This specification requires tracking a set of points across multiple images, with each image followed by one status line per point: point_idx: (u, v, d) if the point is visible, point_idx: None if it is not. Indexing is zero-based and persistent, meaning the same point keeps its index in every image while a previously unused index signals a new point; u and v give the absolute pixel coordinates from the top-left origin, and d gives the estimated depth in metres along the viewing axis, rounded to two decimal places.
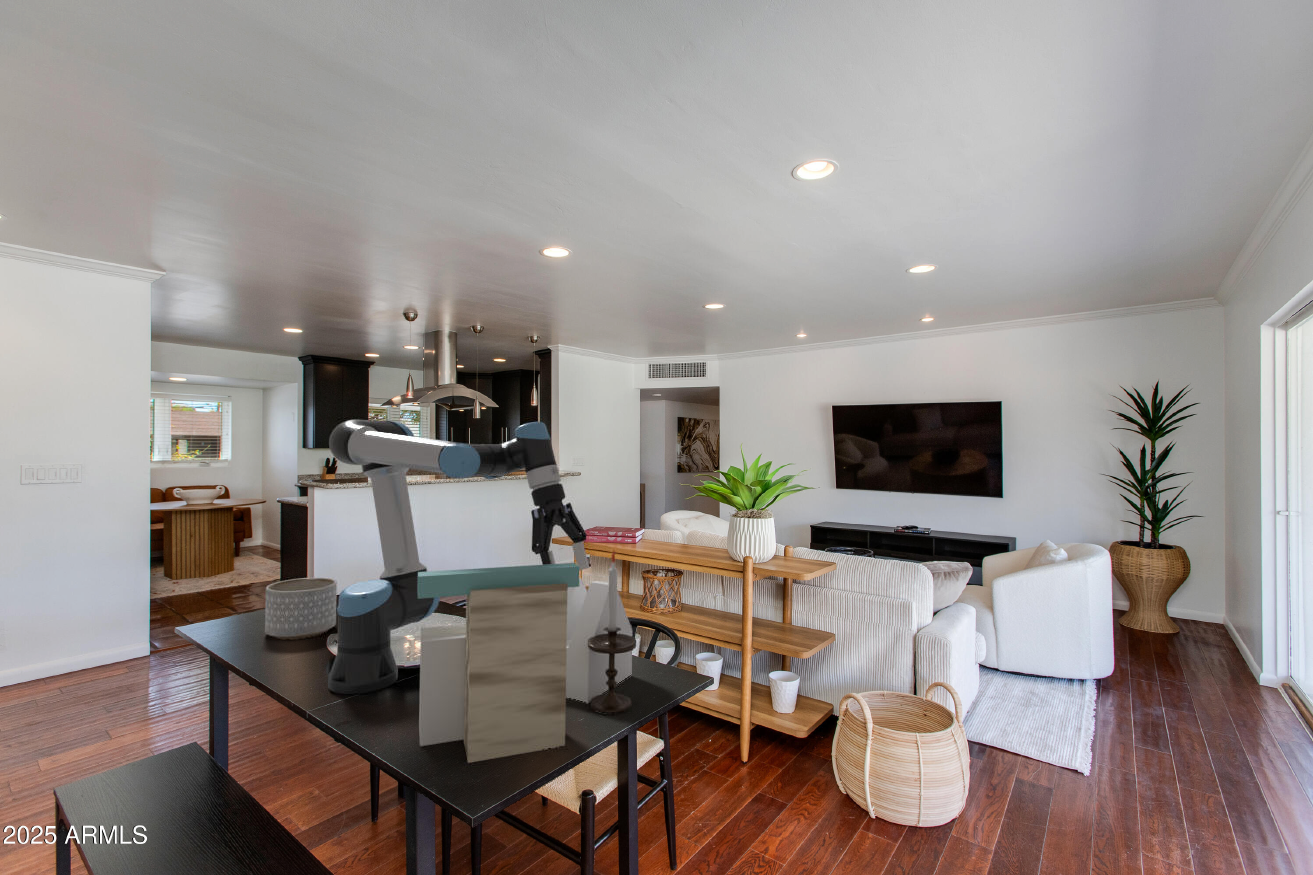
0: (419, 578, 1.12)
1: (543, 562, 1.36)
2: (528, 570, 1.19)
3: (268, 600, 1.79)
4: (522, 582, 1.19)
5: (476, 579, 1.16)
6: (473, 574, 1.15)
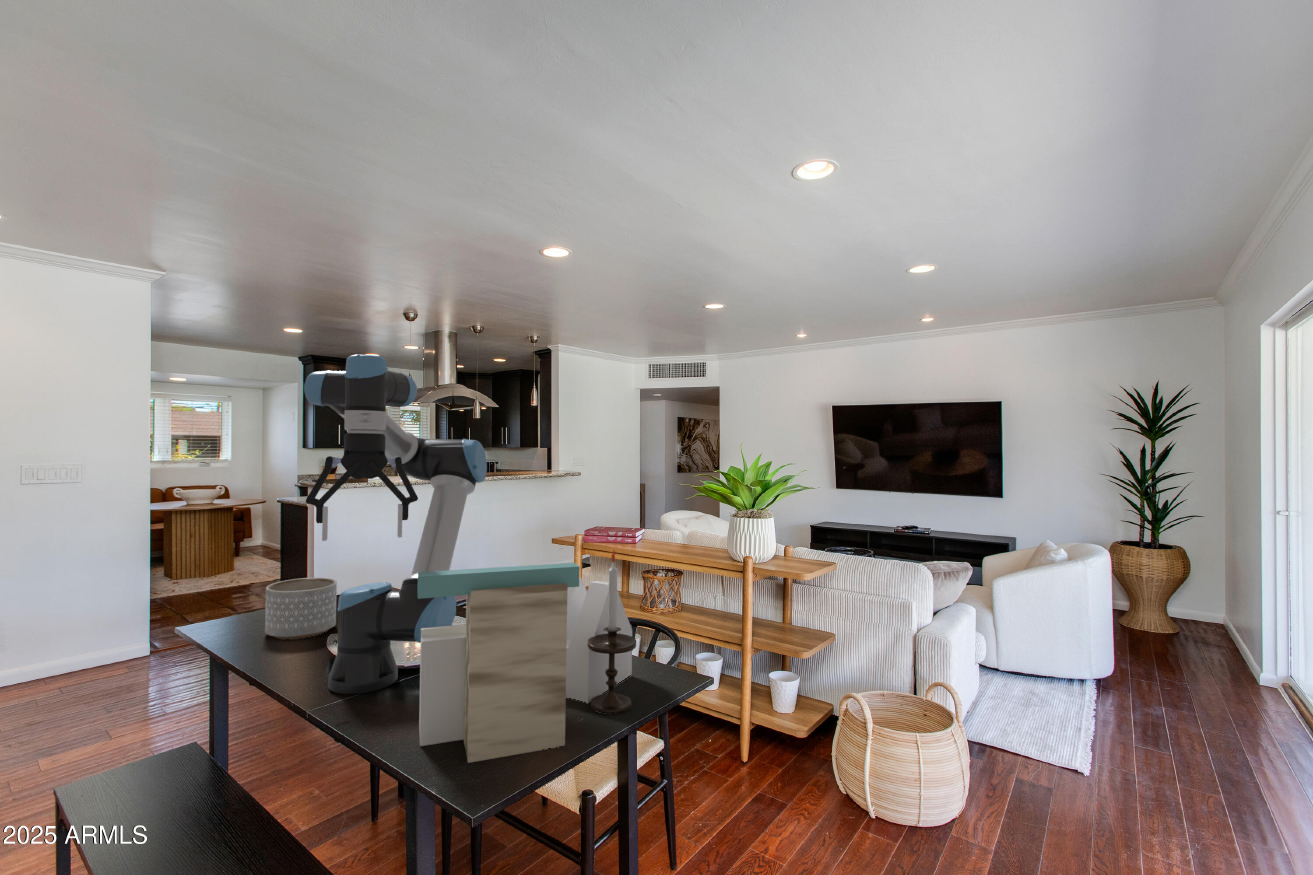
0: (419, 578, 1.12)
1: None
2: (528, 570, 1.19)
3: (268, 600, 1.79)
4: (522, 582, 1.19)
5: (476, 579, 1.16)
6: (473, 574, 1.15)
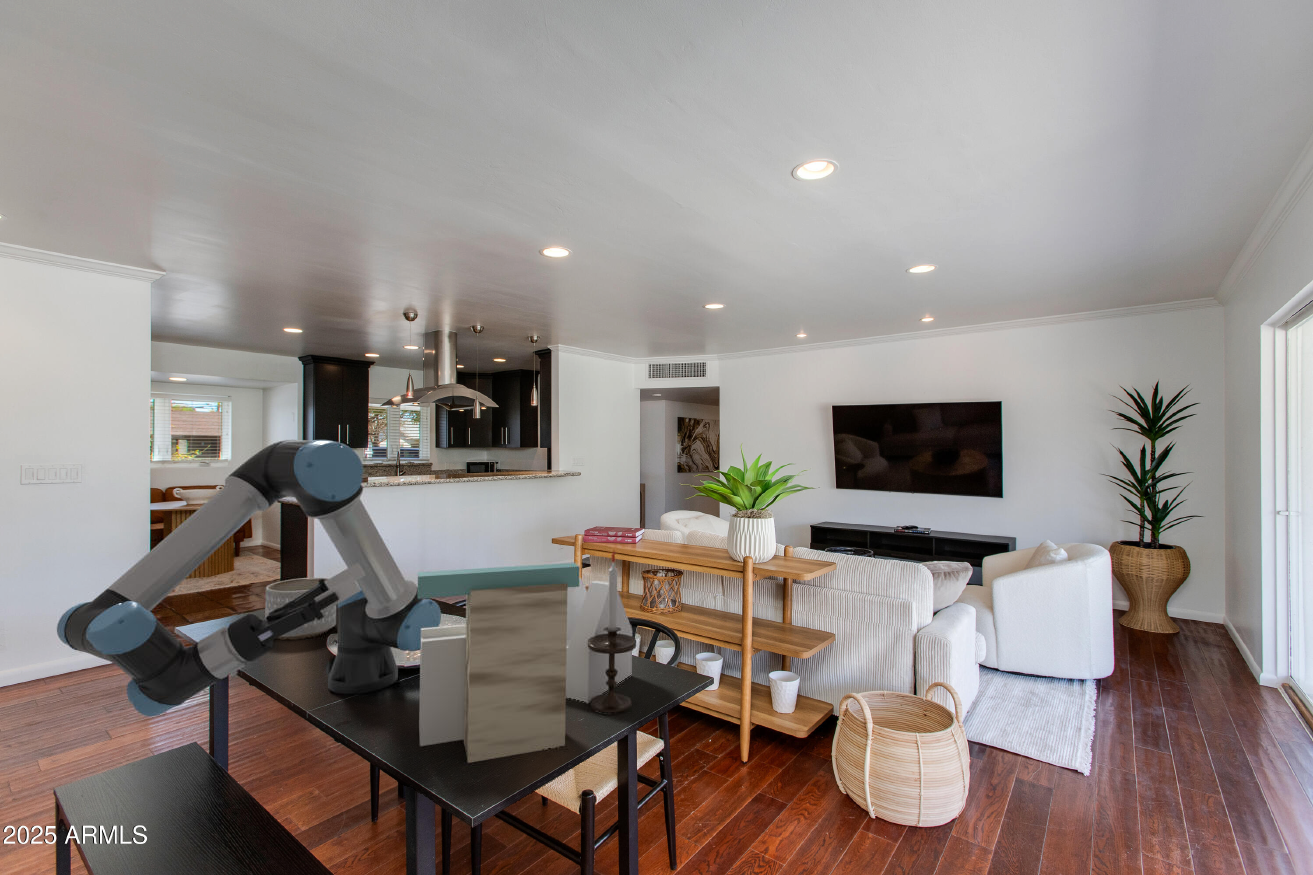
0: (419, 578, 1.12)
1: None
2: (528, 570, 1.19)
3: (268, 600, 1.79)
4: (522, 582, 1.19)
5: (476, 579, 1.16)
6: (473, 574, 1.15)
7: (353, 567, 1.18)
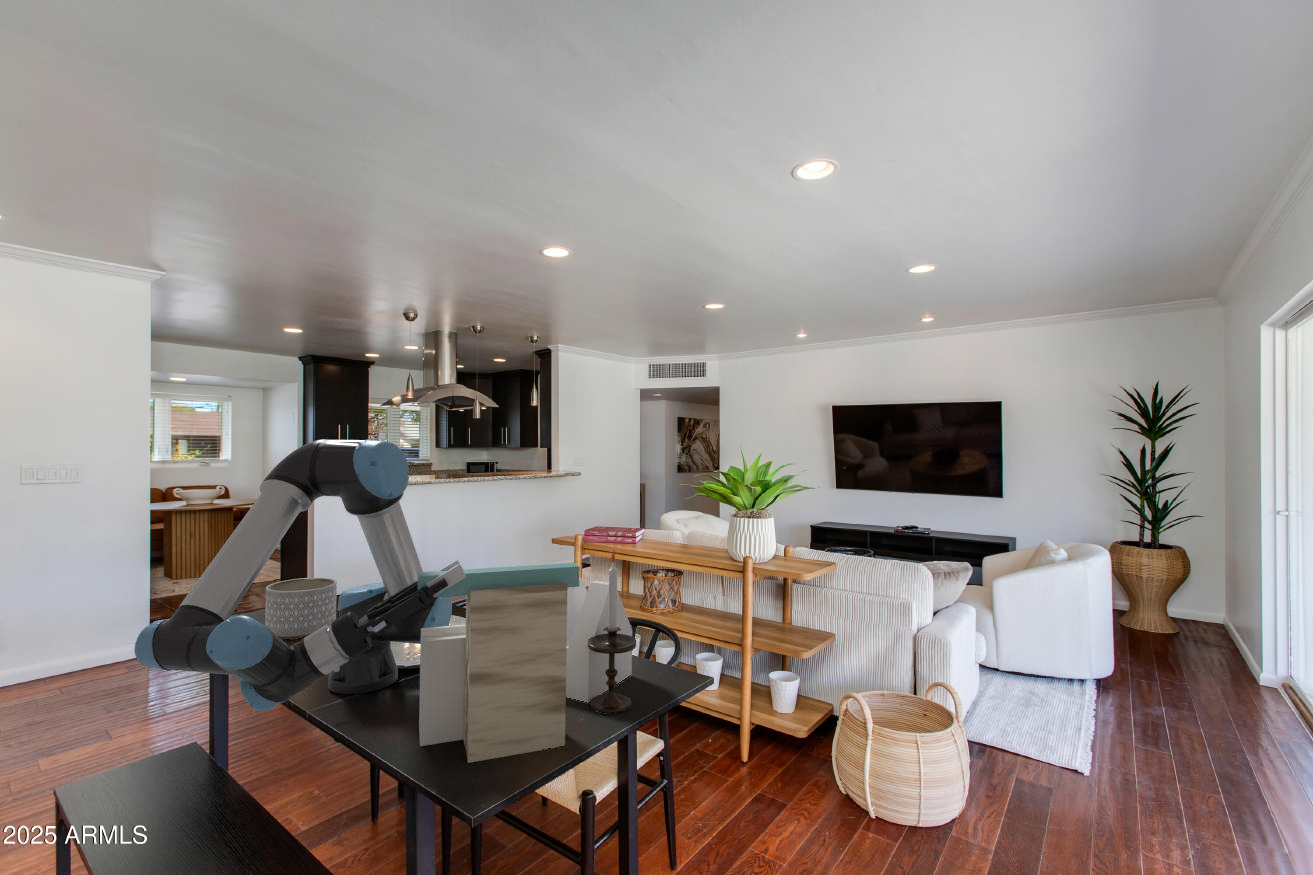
0: (419, 578, 1.12)
1: None
2: (528, 570, 1.19)
3: (268, 600, 1.79)
4: (522, 582, 1.19)
5: (476, 579, 1.16)
6: (473, 574, 1.15)
7: (453, 564, 1.18)
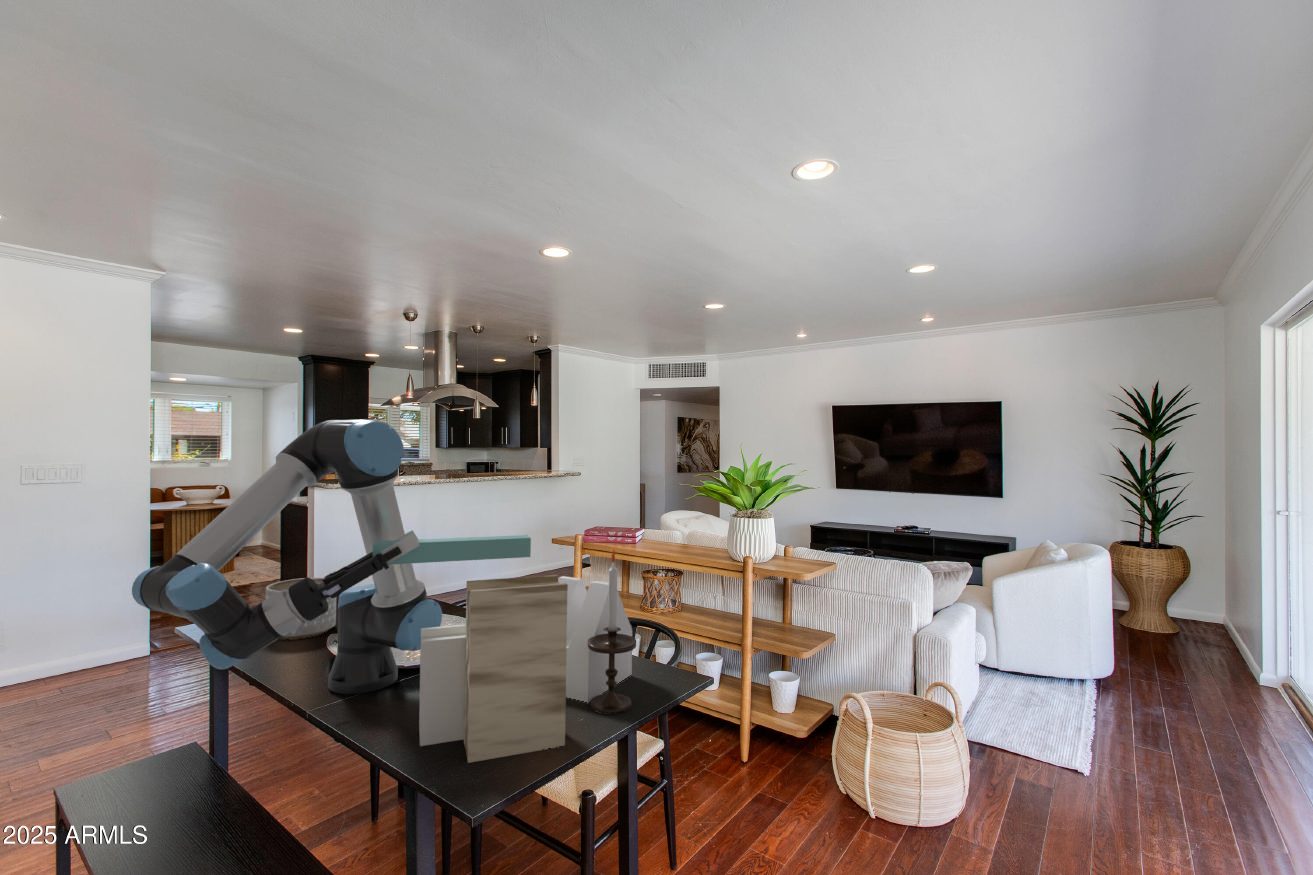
0: (374, 546, 1.18)
1: None
2: (480, 540, 1.25)
3: None
4: (474, 552, 1.25)
5: (429, 548, 1.21)
6: (426, 543, 1.21)
7: (408, 534, 1.24)
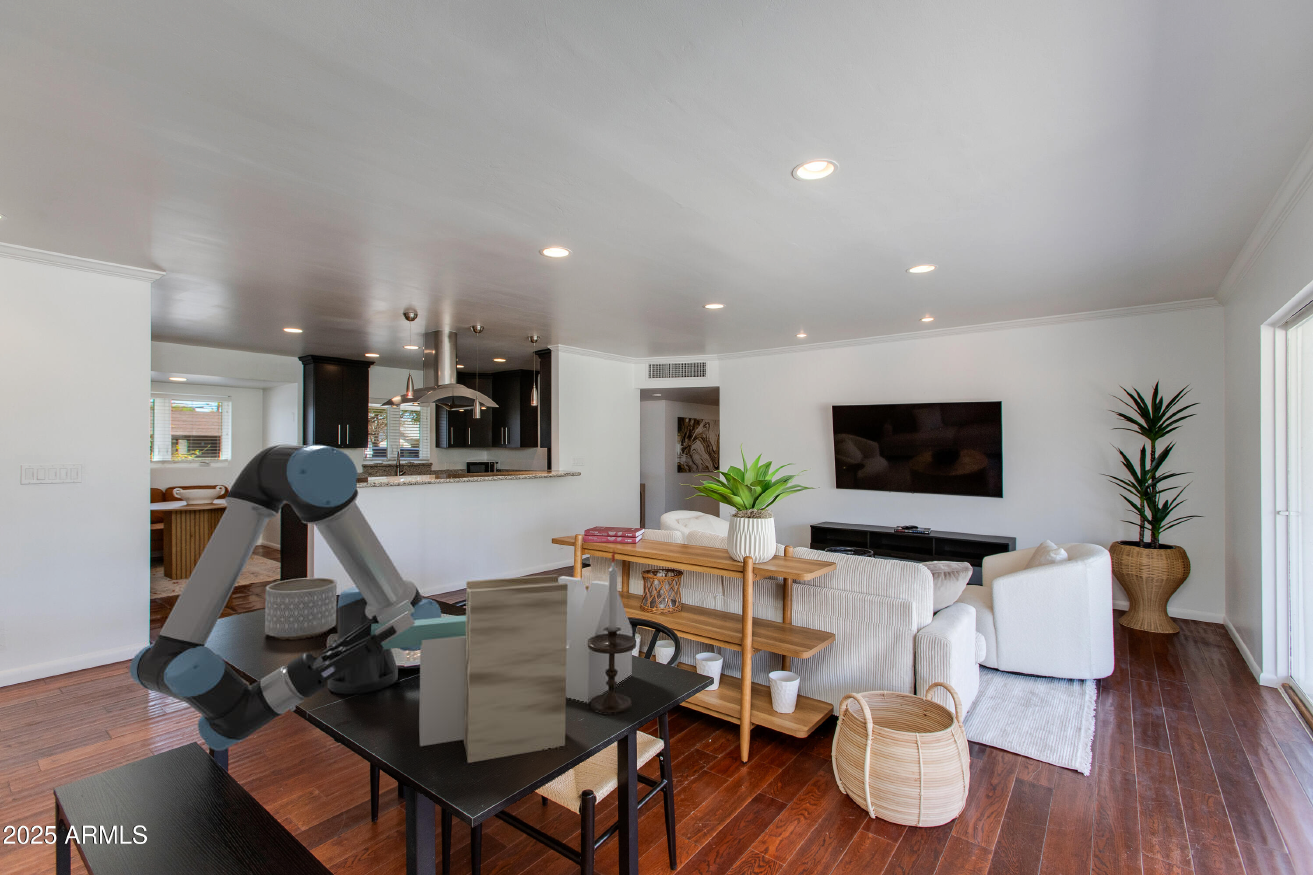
0: (372, 631, 1.18)
1: None
2: None
3: (269, 600, 1.79)
4: None
5: (427, 631, 1.21)
6: (425, 625, 1.21)
7: (403, 604, 1.25)
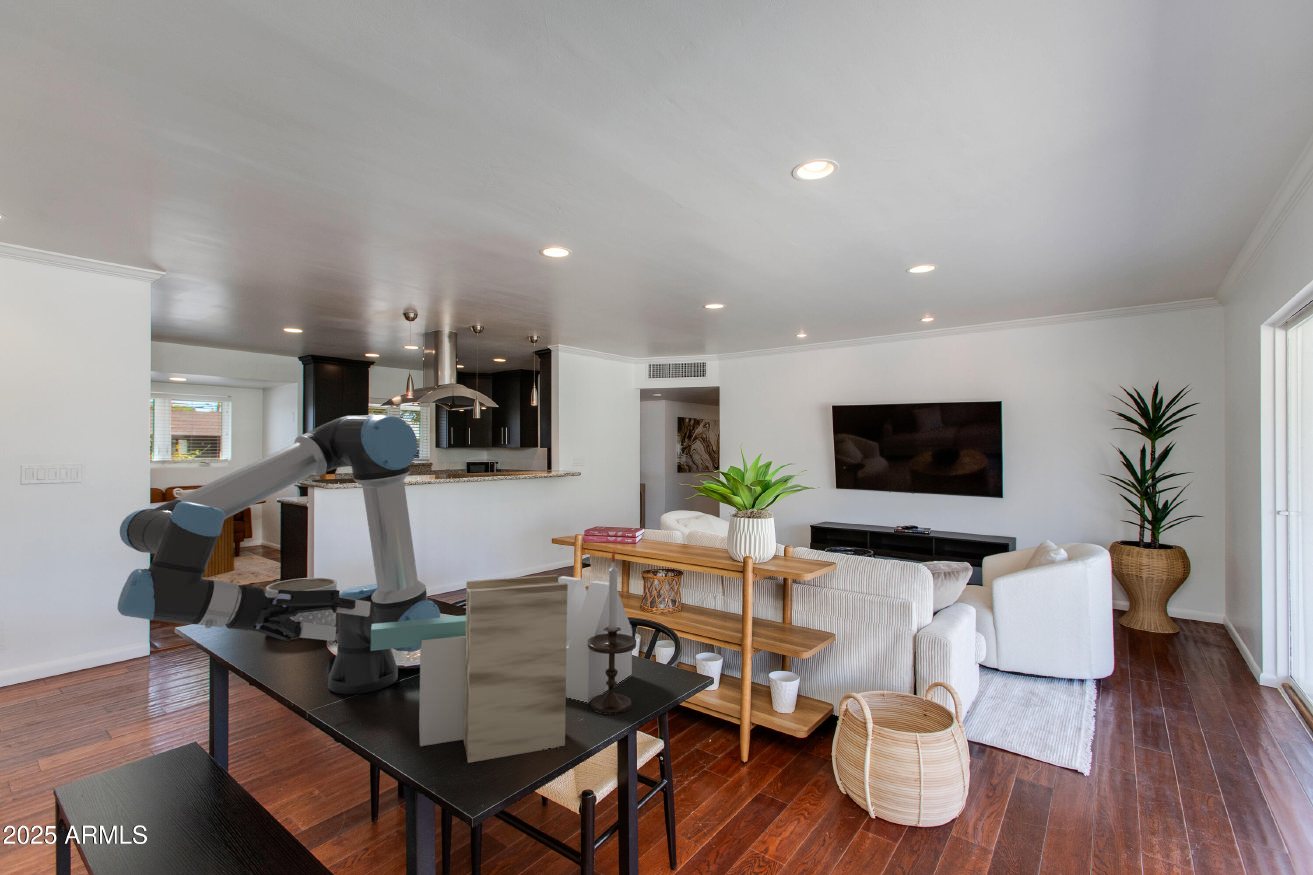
0: (372, 631, 1.18)
1: None
2: None
3: None
4: None
5: (427, 631, 1.21)
6: (425, 625, 1.21)
7: (331, 627, 1.26)
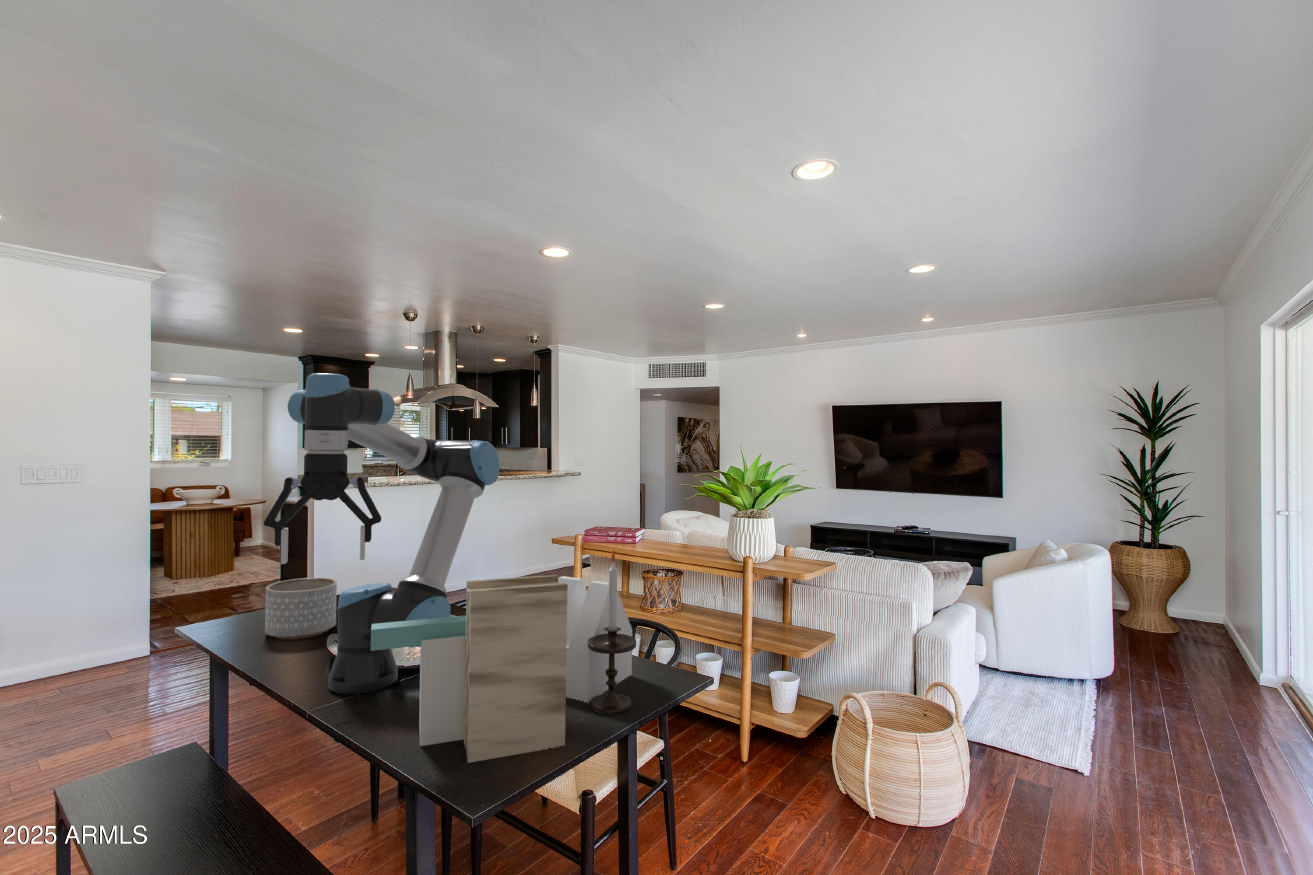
0: (372, 631, 1.18)
1: None
2: None
3: (268, 600, 1.79)
4: None
5: (427, 631, 1.21)
6: (425, 625, 1.21)
7: (287, 556, 1.20)
